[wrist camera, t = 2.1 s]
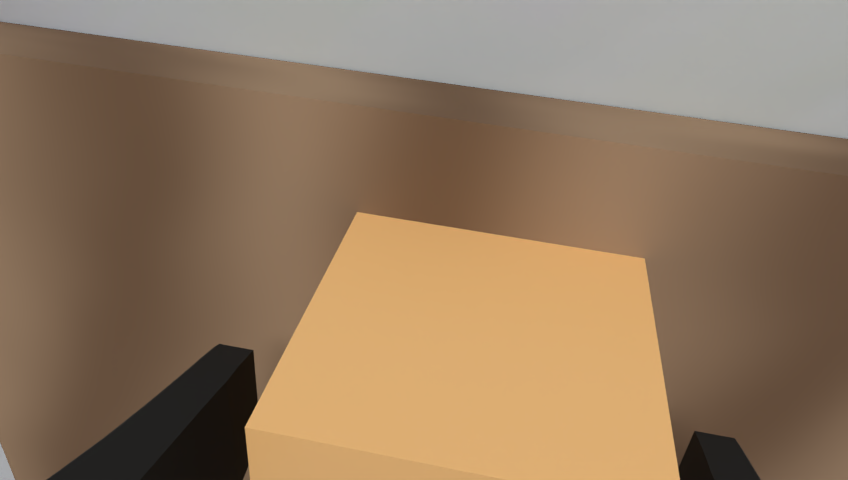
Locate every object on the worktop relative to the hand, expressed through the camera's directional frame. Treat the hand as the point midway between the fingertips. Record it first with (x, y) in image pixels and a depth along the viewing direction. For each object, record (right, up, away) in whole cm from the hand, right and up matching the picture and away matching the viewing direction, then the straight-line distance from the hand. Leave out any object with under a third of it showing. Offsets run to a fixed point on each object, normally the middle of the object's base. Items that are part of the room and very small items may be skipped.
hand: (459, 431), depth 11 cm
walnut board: (-2, -4, +8) cm, 9 cm away
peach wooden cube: (+1, +1, +2) cm, 2 cm away
